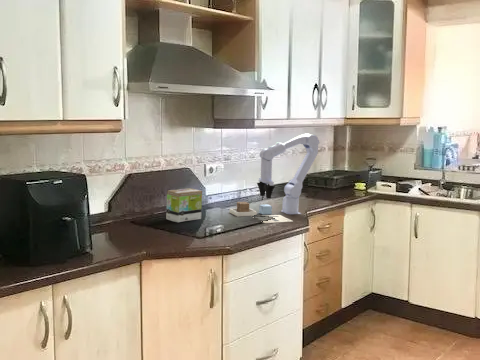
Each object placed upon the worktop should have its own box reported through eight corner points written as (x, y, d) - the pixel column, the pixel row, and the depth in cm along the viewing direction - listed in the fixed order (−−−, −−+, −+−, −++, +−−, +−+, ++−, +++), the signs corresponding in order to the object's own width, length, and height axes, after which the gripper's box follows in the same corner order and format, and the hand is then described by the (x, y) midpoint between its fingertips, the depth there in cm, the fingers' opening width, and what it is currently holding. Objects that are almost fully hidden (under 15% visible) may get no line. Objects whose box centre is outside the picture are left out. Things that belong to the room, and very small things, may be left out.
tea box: (178, 223, 273) (179, 192, 271) (165, 219, 280) (166, 190, 278) (201, 219, 284) (202, 190, 282) (188, 215, 291) (189, 187, 289)
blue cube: (259, 213, 301) (259, 204, 301) (267, 213, 303) (268, 204, 302) (262, 215, 297) (263, 206, 296) (271, 215, 298) (271, 206, 298)
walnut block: (236, 213, 298) (236, 202, 298) (245, 212, 300) (245, 201, 300) (240, 215, 294) (240, 203, 293) (249, 214, 296) (249, 203, 295)
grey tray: (229, 213, 300) (229, 208, 300) (248, 212, 304) (248, 207, 304) (237, 217, 290) (237, 212, 290) (256, 216, 294) (256, 211, 294)
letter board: (251, 217, 292) (251, 216, 291) (279, 215, 297) (279, 214, 297) (264, 223, 277) (264, 222, 277) (293, 222, 283) (293, 221, 283)
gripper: (253, 170, 302) (253, 195, 304) (265, 173, 288) (264, 199, 290) (265, 169, 304) (265, 194, 306) (277, 173, 291) (276, 199, 293)
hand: (265, 197), depth 298 cm, fingers open, 7 cm apart
